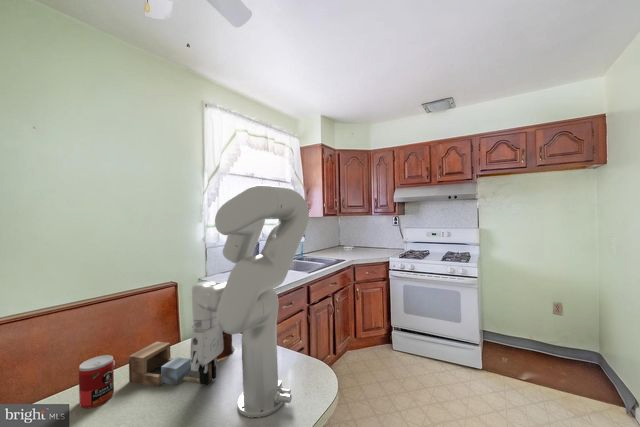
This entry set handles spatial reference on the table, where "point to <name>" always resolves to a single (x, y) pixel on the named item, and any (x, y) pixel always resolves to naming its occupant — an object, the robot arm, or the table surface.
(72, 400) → the table surface
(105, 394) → the canned food
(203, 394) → the table surface
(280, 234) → the robot arm
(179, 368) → the knob-handled block
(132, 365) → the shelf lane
